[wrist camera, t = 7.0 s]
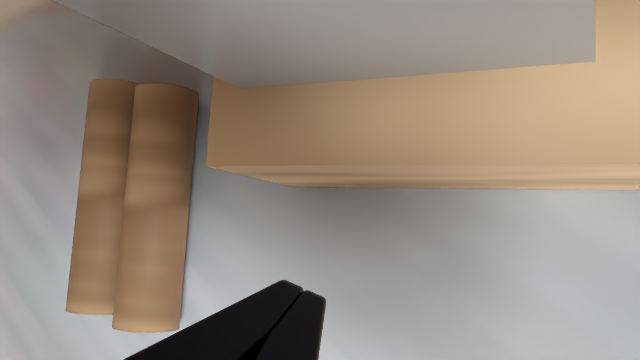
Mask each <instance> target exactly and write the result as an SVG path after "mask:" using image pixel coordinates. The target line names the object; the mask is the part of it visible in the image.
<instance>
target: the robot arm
mask: <svg viewBox="0 0 640 360" xmlns="http://www.w3.org/2000/svg"><path fill="white" fill-rule="evenodd" d="M325 307H326V299H325V298H324V297H322V296H319V295H317V294H315V293H313V292H311V291H308V290H306V291H304V290H303V288H302V287H300V286H298V285H295V284H293V283H291V282H289V281H286V280H281V281H278V282H276V283H274V284H272V285H271V286H269V287H267V288H265V289H263V290H261V291H259V292H257V293H255V294H253V295H251V296H249V297H247V298H245V299H243V300H241V301H239V302H237V303H235V304H233V305H231V306H229V307H227V308H225V309H223V310H221V311H219V312H217V313H215V314H213V315H211V316H209V317H207V318H205V319H203V320H201V321H199V322H197V323H195V324H193V325H191V326H189V327H187V328H185V329H183V330H181V331H179V332H177V333H175V334H173V335H171V336H169V337H167V338H165V339H163V340H161V341H159V342H157V343H155V344H153V345H151V346H149V347H147V348H145V349H143V350H141V351H140V352H138V353H136V354H134V355H132V356H130V357H128V358H126V359H124V360H318V358H319V350H320V343H321V336H322V329H323V321H324V314H325Z"/></svg>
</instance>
